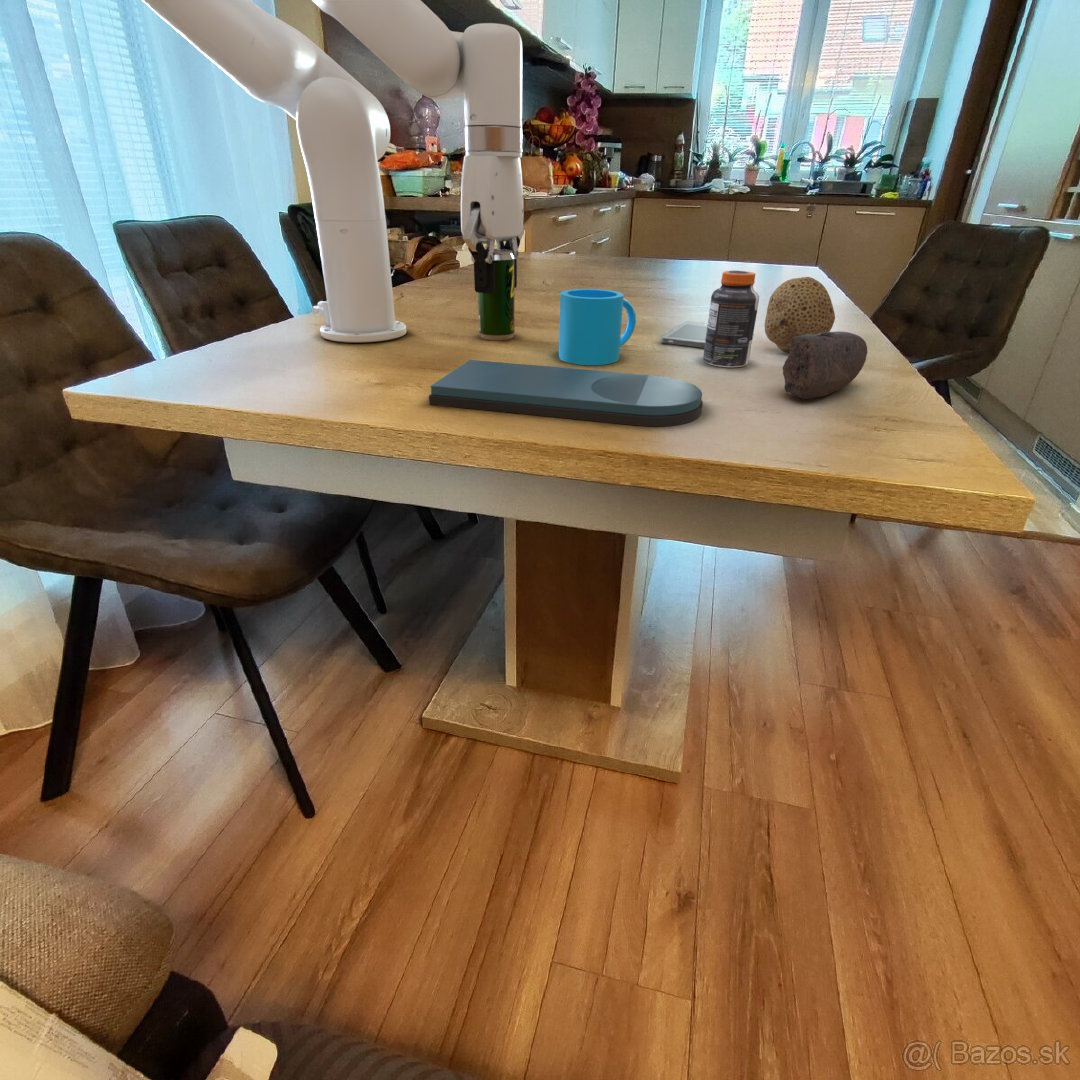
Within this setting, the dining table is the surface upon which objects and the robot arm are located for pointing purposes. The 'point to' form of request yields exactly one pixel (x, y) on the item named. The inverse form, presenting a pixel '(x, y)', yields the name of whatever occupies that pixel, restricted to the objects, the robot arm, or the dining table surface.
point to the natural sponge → (798, 311)
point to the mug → (593, 326)
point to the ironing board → (569, 393)
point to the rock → (823, 363)
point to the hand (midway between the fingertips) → (496, 288)
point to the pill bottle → (731, 320)
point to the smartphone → (687, 334)
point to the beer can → (499, 300)
